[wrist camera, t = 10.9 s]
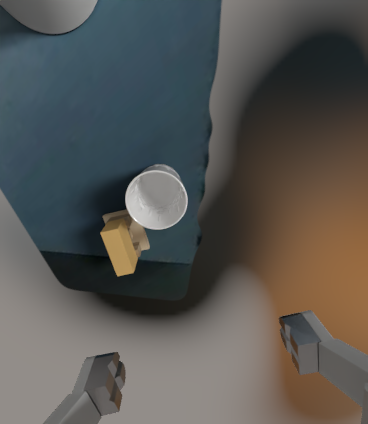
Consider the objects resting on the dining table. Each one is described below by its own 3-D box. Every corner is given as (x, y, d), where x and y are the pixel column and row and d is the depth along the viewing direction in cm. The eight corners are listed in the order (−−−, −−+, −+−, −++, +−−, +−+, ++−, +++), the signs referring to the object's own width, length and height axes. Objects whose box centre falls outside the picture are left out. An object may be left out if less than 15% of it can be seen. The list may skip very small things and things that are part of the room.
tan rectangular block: (107, 221, 35) (99, 232, 32) (123, 218, 35) (117, 228, 32) (122, 261, 38) (116, 276, 34) (137, 258, 38) (133, 272, 34)
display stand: (104, 214, 39) (96, 223, 35) (137, 206, 39) (133, 214, 35) (118, 253, 42) (113, 265, 38) (149, 246, 42) (147, 257, 38)
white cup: (139, 206, 39) (128, 231, 30) (134, 160, 36) (121, 171, 27) (184, 204, 39) (188, 228, 30) (183, 159, 37) (186, 169, 27)
